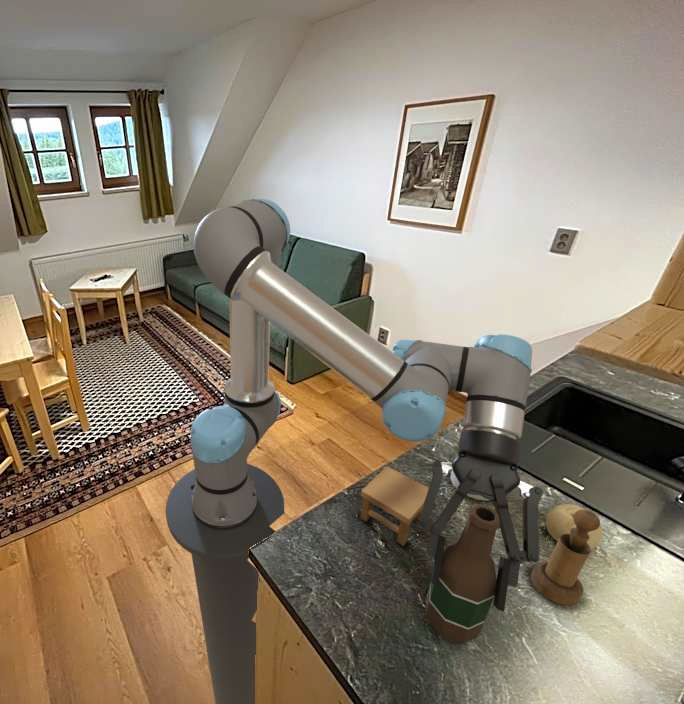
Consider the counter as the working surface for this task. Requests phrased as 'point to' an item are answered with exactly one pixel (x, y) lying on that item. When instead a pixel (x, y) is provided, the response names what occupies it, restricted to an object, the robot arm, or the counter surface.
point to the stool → (394, 500)
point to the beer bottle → (465, 580)
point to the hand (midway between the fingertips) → (465, 594)
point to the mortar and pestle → (566, 562)
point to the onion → (568, 523)
